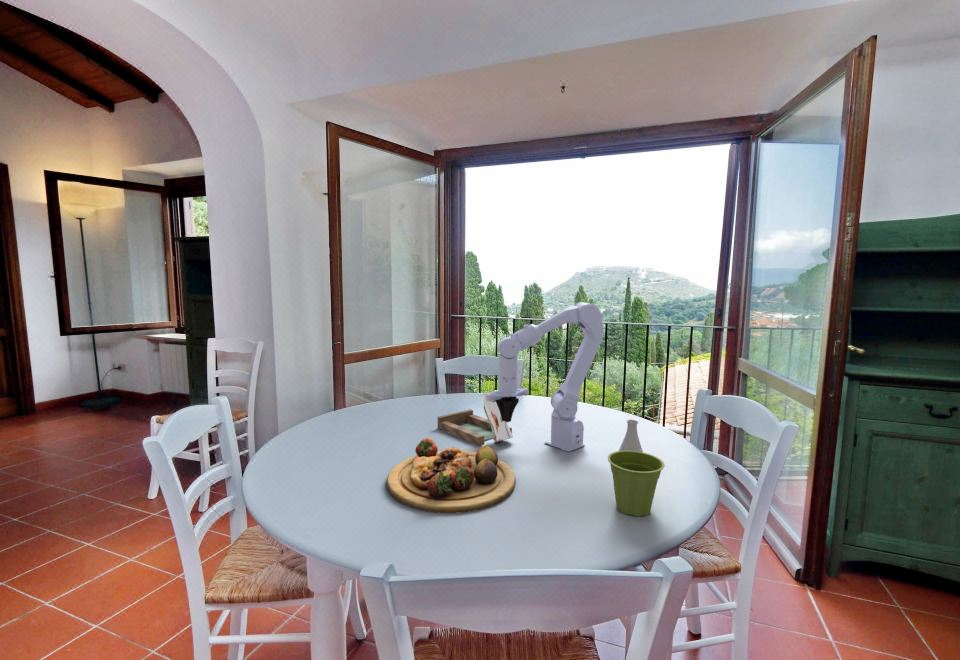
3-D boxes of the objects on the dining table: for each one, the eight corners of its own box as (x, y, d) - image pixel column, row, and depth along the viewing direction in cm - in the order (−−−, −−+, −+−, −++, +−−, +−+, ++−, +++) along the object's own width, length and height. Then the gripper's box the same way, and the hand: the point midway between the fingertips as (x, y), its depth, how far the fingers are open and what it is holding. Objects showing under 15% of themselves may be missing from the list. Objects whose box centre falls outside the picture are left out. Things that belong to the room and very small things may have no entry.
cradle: (511, 435, 151) (512, 423, 151) (478, 445, 142) (478, 432, 141) (470, 420, 167) (470, 409, 166) (437, 428, 157) (437, 416, 157)
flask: (615, 456, 134) (617, 422, 133) (620, 448, 141) (622, 416, 140) (641, 460, 131) (643, 426, 130) (645, 452, 137) (647, 419, 136)
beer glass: (514, 436, 147) (502, 389, 149) (513, 437, 140) (500, 389, 143) (493, 441, 147) (482, 395, 150) (491, 443, 141) (479, 394, 143)
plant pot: (595, 508, 103) (597, 459, 102) (622, 491, 112) (624, 446, 110) (646, 529, 95) (649, 476, 94) (671, 509, 103) (673, 460, 102)
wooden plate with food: (377, 466, 126) (376, 437, 125) (487, 451, 137) (487, 424, 136) (401, 528, 96) (400, 491, 95) (538, 502, 108) (539, 468, 106)
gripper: (495, 382, 133) (494, 428, 135) (535, 377, 141) (534, 420, 142) (482, 377, 139) (481, 422, 140) (520, 373, 147) (519, 414, 148)
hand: (507, 421), depth 142 cm, fingers closed
